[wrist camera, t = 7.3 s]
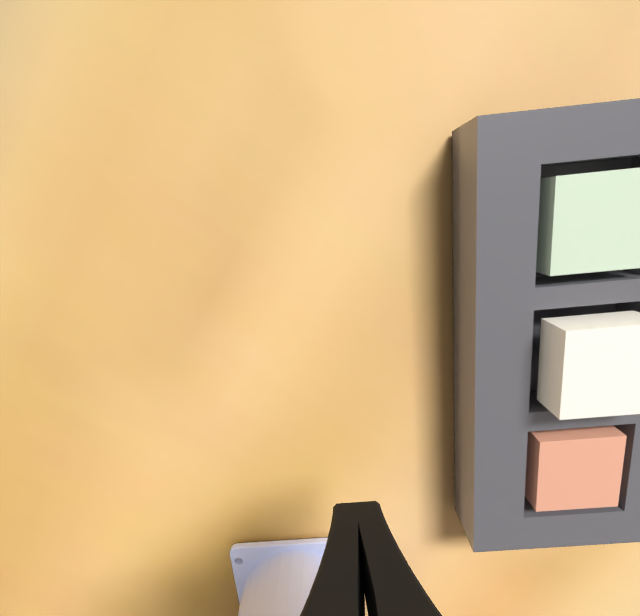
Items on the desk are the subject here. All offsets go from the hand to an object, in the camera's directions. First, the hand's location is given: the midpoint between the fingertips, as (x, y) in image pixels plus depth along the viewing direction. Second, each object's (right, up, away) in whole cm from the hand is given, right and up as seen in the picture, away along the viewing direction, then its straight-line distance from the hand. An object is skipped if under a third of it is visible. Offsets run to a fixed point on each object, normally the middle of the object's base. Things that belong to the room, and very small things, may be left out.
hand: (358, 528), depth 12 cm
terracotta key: (+11, -1, +8) cm, 14 cm away
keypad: (+11, +5, +8) cm, 15 cm away
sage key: (+10, +11, +5) cm, 16 cm away
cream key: (+11, +5, +6) cm, 13 cm away
